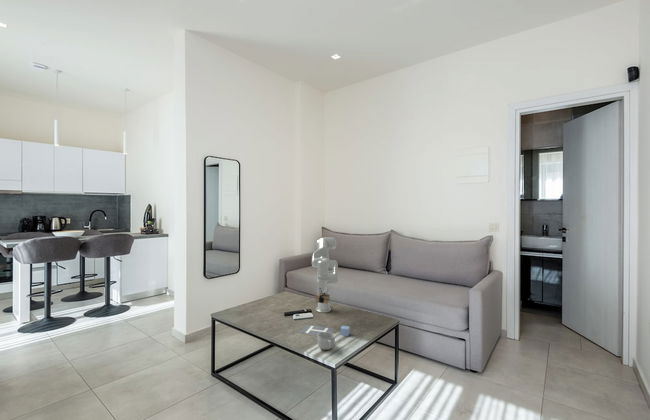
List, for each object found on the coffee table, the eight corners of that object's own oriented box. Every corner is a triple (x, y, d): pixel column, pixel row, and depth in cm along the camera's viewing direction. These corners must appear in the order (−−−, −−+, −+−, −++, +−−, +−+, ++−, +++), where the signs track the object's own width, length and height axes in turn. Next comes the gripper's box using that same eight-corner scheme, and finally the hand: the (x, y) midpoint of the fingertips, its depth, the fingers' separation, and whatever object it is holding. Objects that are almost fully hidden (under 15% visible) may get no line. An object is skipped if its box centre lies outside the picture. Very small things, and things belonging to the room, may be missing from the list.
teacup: (317, 343, 196) (317, 331, 196) (334, 343, 197) (334, 330, 197) (318, 354, 182) (318, 341, 182) (336, 354, 183) (336, 340, 183)
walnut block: (317, 299, 231) (317, 293, 231) (329, 301, 228) (329, 294, 228) (315, 302, 226) (315, 295, 226) (327, 303, 224) (327, 296, 223)
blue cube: (342, 332, 213) (342, 325, 213) (349, 333, 211) (349, 326, 211) (340, 335, 208) (340, 328, 208) (347, 336, 206) (347, 329, 206)
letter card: (306, 324, 225) (306, 324, 225) (334, 328, 219) (334, 328, 219) (299, 332, 212) (299, 332, 212) (328, 336, 206) (328, 336, 206)
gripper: (321, 273, 235) (321, 297, 237) (313, 279, 219) (313, 304, 220) (330, 274, 233) (330, 298, 234) (323, 280, 217) (323, 306, 218)
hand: (322, 301), depth 227 cm, fingers closed on walnut block, 5 cm apart
